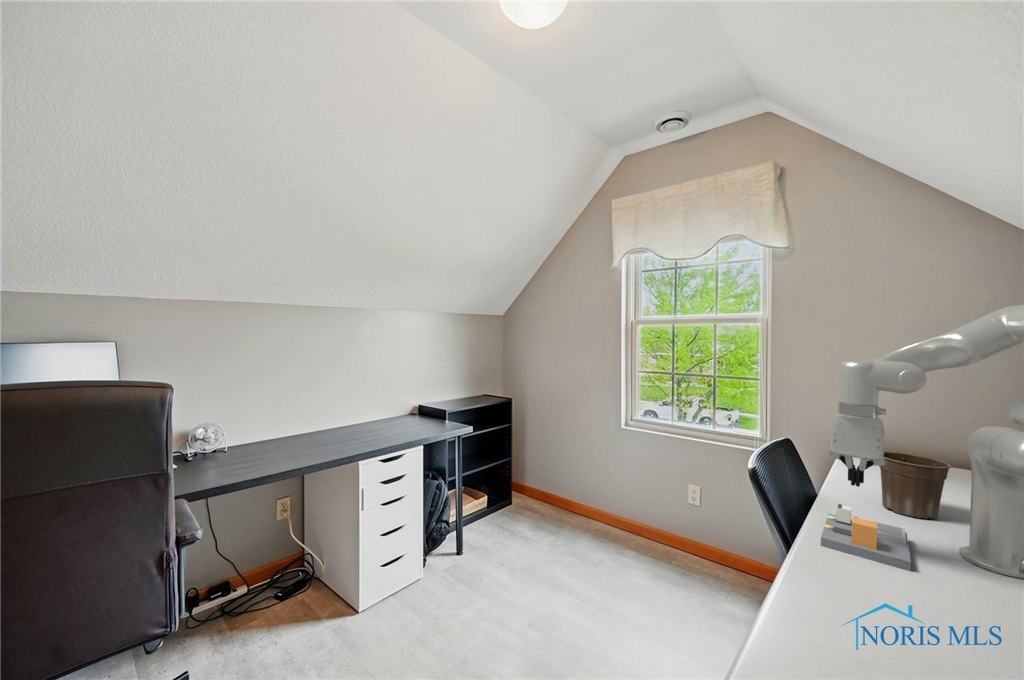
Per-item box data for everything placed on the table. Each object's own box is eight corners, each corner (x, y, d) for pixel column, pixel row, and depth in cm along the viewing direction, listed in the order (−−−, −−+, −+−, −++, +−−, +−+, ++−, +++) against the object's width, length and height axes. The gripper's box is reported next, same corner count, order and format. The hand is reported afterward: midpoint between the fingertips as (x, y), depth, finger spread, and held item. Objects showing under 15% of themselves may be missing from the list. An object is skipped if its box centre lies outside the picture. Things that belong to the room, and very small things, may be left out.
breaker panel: (910, 571, 92) (911, 556, 92) (820, 545, 102) (821, 532, 102) (906, 540, 107) (906, 527, 107) (828, 520, 117) (828, 509, 117)
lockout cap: (876, 550, 97) (877, 528, 97) (851, 543, 100) (852, 522, 100) (876, 543, 100) (877, 522, 100) (852, 537, 103) (853, 516, 103)
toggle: (850, 523, 110) (850, 509, 110) (835, 520, 112) (836, 506, 112) (850, 520, 112) (851, 506, 112) (836, 517, 114) (837, 503, 114)
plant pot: (939, 510, 128) (941, 457, 128) (957, 528, 115) (959, 470, 115) (870, 497, 137) (872, 448, 137) (879, 513, 124) (881, 459, 124)
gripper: (899, 413, 101) (896, 489, 101) (822, 405, 111) (820, 474, 111) (898, 417, 95) (896, 497, 96) (818, 408, 106) (816, 480, 106)
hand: (855, 484), depth 103 cm, fingers closed
